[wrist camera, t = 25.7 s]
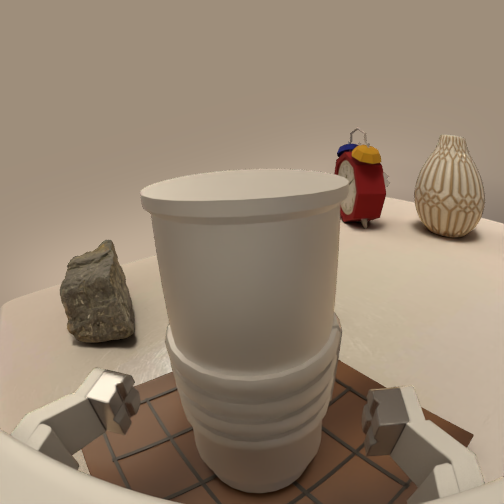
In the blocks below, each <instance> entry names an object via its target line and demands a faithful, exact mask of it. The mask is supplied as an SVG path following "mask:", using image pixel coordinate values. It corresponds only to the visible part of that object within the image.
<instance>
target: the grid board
mask: <svg viewBox="0 0 504 504" xmlns="http://www.w3.org/2000/svg"><path fill="white" fill-rule="evenodd" d="M134 388H135V389H136V390H138V392H139V395H140V407H139V410H138V412H137V414H136V415H134V416H132V417H131V421H132V423H131V425H130V427H129V429H128V431H127V433H126V435H121V434H117V433H114V432H110V431H106V432H105V433H103V434H102V435H101V436H99V437H98V438H96V439H95V440H93V441H92V442H91V443H89V444H88V445H86V446H85V447H83V448H82V452H83V455H84V458H85V461H86V464H87V467H88V469H89V472H90V475H91V476H93V477H96V478H98V479H101V480H104V481H106V482H109V483H112V484H115V485H118V486H121V487H124V488H127V489H130V490H133V491H136V492H140V493H143V494H146V495H150V496H154V497H157V498H161V499H165V500H169V501H174V502H178V503H182V504H407V500H408V499H409V498H410V497H411V496H412V495H413V493H414V492H415V491H416V490H417V489H418V487H417V486H416V484H415V483H414V482H413V481H412V480H411V479H410V478H409V477H408V476H407V474H406V473H405V472H404V471H403V470H402V469H401V468H400V467H399V465H398V464H397V463H396V462H395V461H394V460H393V459H392V458H391V456H390V455H382V456H370V457H366V452H365V445H364V440H365V438H366V434H365V433H364V432H363V430H362V412H363V408H364V405H366V404H367V403H368V402H367V394H368V391H369V390H370V389H380V388H386V387H384V386H382V385H381V384H379V383H377V382H376V381H374V380H372V379H370V378H369V377H367V376H365V375H363V374H362V373H360V372H358V371H357V370H355V369H353V368H352V367H350V366H348V365H346V364H345V363H343V362H341V361H340V360H338V364H337V371H336V377H335V383H334V389H333V394H332V400H331V401H329V405H328V408H327V412H326V415H325V416H324V418H323V419H322V429H321V442H320V445H319V448H318V451H317V454H316V455H315V456H314V458H313V459H312V460H311V462H310V463H309V464H308V465H307V467H306V469H305V470H304V472H303V473H302V474H301V476H300V477H299V478H298V479H297V480H295V481H294V482H293V483H291V484H290V485H289V486H286V487H284V488H282V489H279V490H277V491H273V492H266V493H249V492H244V491H241V490H237V489H234V488H232V487H230V486H229V485H227V484H226V483H224V482H222V481H221V480H220V479H219V477H218V476H217V475H216V474H215V473H214V471H213V470H211V469H210V468H209V467H208V465H207V464H206V463H205V462H204V461H203V459H202V458H201V456H200V454H199V451H198V449H197V446H196V442H195V436H194V430H193V426H192V425H191V424H190V422H189V421H188V420H187V417H186V415H185V412H184V409H183V406H182V403H181V398H180V395H179V392H178V389H177V385H176V380H175V377H174V374H173V372H170V373H168V374H165V375H163V376H160V377H158V378H155V379H153V380H150V381H148V382H145V383H142V384H140V385H137V386H134ZM421 408H422V407H421ZM422 411H423V414H424V417H425V420H430V421H432V422H433V423H434V424H436V425H437V426H438V427H439V428H441V429H442V430H443V431H445V432H446V433H447V434H449V435H450V436H451V437H453V438H454V439H455V440H457V441H458V442H459V443H461V444H462V445H463V446H465V447H466V448H467V446H468V445H469V443H470V441H471V439H472V438H473V434H471V433H469V432H467V431H465V430H463V429H461V428H460V427H458V426H456V425H454V424H452V423H450V422H448V421H446V420H444V419H442V418H440V417H439V416H437V415H435V414H433V413H431V412H429V411H427V410H426V409H424V408H422Z"/></svg>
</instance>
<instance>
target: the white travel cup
mask: <svg viewBox="0 0 504 504" xmlns="http://www.w3.org/2000/svg"><path fill="white" fill-rule="evenodd" d="M348 194H349V181H348V180H347V179H346V178H345V177H342V176H339V175H335V174H331V173H325V172H319V171H309V170H296V169H244V170H229V171H218V172H210V173H201V174H195V175H188V176H183V177H178V178H173V179H169V180H165V181H162V182H158V183H155V184H152V185H150V186H147V187H145V188H144V189H143V190H141V191H140V195H141V202H142V206H143V209H145V210H146V211H147V212H149V213H150V214H151V218H152V225H153V232H154V239H155V246H156V253H157V259H158V265H159V271H160V277H161V282H162V288H163V293H164V298H165V303H166V309H167V314H168V318H169V325H168V327H167V330H166V337H165V344H166V348H167V351H168V354H169V357H170V361H171V367H172V371H173V374H174V377H175V380H176V385H177V389H178V392H179V395H180V398H181V403H182V406H183V409H184V412H185V415H186V417H187V420H188V421H189V422H190V424H191V425H192V426H193V430H194V436H195V442H196V446H197V449H198V451H199V454H200V456H201V458H202V459H203V461H204V462H205V463H206V464H207V465H208V467H209V468H210V469H211V470H213V471H214V473H215V474H216V475H217V476H218V477H219V479H220V480H221V481H222V482H224V483H226V484H227V485H229V486H230V487H232V488H234V489H237V490H241V491H244V492H249V493H266V492H273V491H277V490H279V489H282V488H284V487H286V486H289V485H290V484H291V483H293V482H294V481H295V480H297V479H298V478H299V477H300V476H301V474H302V473H303V472H304V470H305V469H306V467H307V465H308V464H309V463H310V462H311V460H312V459H313V458H314V456H315V455H316V454H317V451H318V448H319V445H320V442H321V429H322V419H323V418H324V416H325V415H326V412H327V408H328V405H329V401H331V400H332V394H333V389H334V383H335V377H336V371H337V364H338V358H339V351H340V344H341V337H342V328H341V324H340V319H339V318H338V317H337V315H336V314H335V312H334V306H335V294H336V282H337V268H338V251H339V231H340V204H341V203H342V202H343V201H344V200H345V199H346V198H347V196H348Z"/></svg>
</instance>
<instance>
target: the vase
mask: <svg viewBox="0 0 504 504" xmlns="http://www.w3.org/2000/svg"><path fill="white" fill-rule="evenodd" d="M414 197H415V206H416V210H417V213H418V215H419V218H420V219H421V221H422V223H423V224H424V225H425V226H426V227H427V229H428V230H429V231H431V232H433V233H435V234H438V235H441V236H446V237H463V236H465V235H466V234H468V233H469V232H471V231H472V230H473V229H474V228H475V227H476V226H477V224H478V222H479V221H480V219H481V217H482V214H483V210H484V204H485V194H484V187H483V182H482V179H481V176H480V174H479V171H478V169H477V167H476V165H475V163H474V161H473V159H472V158H471V156H470V154H469V151H468V148H467V145H466V141H465V138H464V137H458V136H452V135H440V138H439V141H438V144H437V146H436V149H435V150H434V152H433V153H432V154H431V155H430V157H429V158H428V159H427V161H426V162H425V164H424V165H423V167H422V169H421V171H420V173H419V176H418V179H417V182H416V186H415V192H414Z"/></svg>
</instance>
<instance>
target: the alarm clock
mask: <svg viewBox="0 0 504 504" xmlns="http://www.w3.org/2000/svg"><path fill="white" fill-rule="evenodd" d="M356 130H359V131H361V132H362V133H364V141H365V144H366V145H361V143H360V142H359V143H358V144H359V145H356V144H351V142H352V133H354V132H355V131H356ZM350 135H351V137H350V142H348V144H346V145H343V146H341V147H340V148H339V150H338V152H337V155H338V157H339V158H338V159H337V160H336V167H335V175H339V176H342V177H345V178H346V179H347V180H348V181H349V194H348V196H347V198H346V199H345V200H344V201H343V202H342V203H341V204H340V216H341V218H342V220H343V222H357V221H361V222H362V224H363V227H364V228H367V221H370V220H374V219H377V218H380V215H381V211H382V208H383V204H384V200H385V196H386V189H385V186H387V187H388V185H389V184H390V182H389V181H388V180H387V178H388V177H389V176H388V175H387V174H386V173H384V172H383V169H382V165H381V164H380V162H381V156H380V154H379V151H378V150H377V149H375V148H374V147H372V146H369V145H370V144H369V143H368V144H367V143H366V133H365V132H364V131H362V130H361V129H359V128H356V129H355V130H354V131H352V132H351V133H350Z"/></svg>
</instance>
